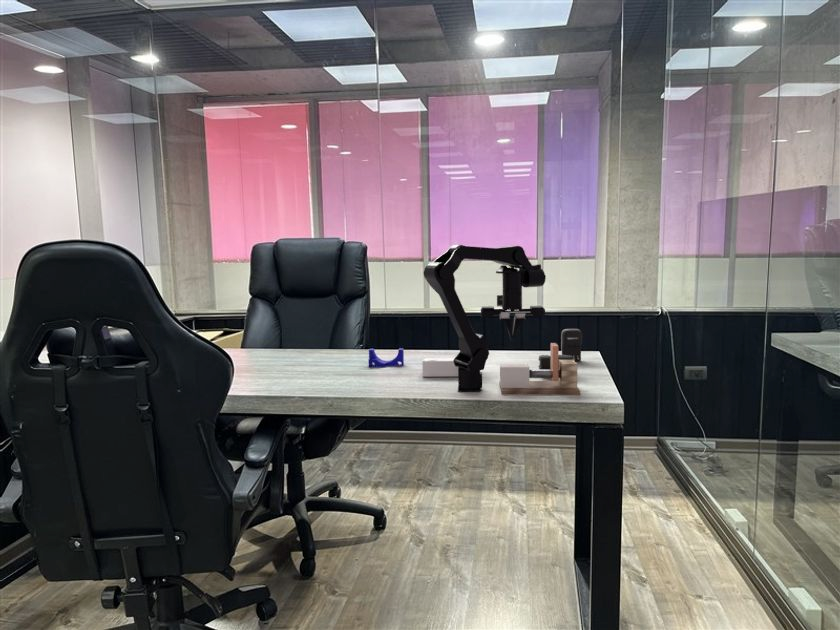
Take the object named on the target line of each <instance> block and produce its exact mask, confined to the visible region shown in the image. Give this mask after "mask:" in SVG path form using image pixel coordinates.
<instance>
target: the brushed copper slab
mask: <svg viewBox="0 0 840 630" xmlns="http://www.w3.org/2000/svg"><path fill="white" fill-rule="evenodd" d="M558 355H559V345H558V343H557V342H550V356H551V361H550V370H540V369H529V379H551V381H559V378H561V370H558Z"/></svg>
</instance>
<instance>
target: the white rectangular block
mask: <svg viewBox="0 0 840 630" xmlns="http://www.w3.org/2000/svg"><path fill="white" fill-rule="evenodd" d="M529 370H530V366H529V363H499V387H500V386H501V388H529V381H530V378H529Z"/></svg>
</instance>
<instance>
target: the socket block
mask: <svg viewBox="0 0 840 630" xmlns="http://www.w3.org/2000/svg"><path fill="white" fill-rule="evenodd" d="M559 370H561V378H558V381H559V385H560V386H561V388H577V387H578V362H577V361H576V362H575V361H574V360H559Z"/></svg>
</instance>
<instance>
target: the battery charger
mask: <svg viewBox="0 0 840 630" xmlns="http://www.w3.org/2000/svg"><path fill="white" fill-rule="evenodd" d="M560 339H561V342H560V344H561V345H560V346H561V347H560V348H561V355H571V356H572V357H573V360H574V361H576V362H581V360H582V344H583V334H582V331H581V330H580V329H579V328H565V329H563V330H562V331H561V335H560Z"/></svg>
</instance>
